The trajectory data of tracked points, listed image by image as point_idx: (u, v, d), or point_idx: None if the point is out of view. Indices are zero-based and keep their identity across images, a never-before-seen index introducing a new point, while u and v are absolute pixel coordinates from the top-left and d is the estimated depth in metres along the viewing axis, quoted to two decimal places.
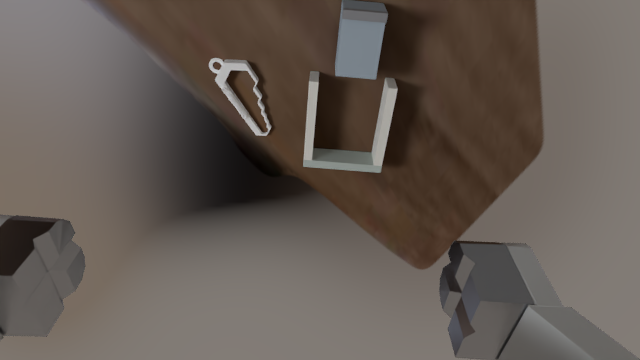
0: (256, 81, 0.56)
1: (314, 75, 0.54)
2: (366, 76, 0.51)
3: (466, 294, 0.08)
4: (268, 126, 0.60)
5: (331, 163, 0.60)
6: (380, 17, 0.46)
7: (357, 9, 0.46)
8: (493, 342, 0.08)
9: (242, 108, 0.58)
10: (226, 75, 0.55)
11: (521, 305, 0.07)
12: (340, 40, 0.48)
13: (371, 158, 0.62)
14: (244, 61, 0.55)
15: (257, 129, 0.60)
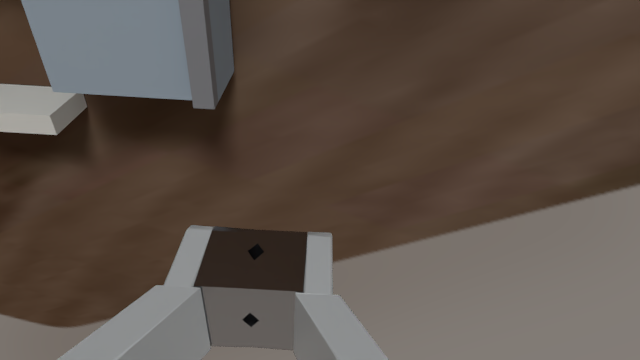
0: None
1: None
2: (50, 68, 0.19)
3: None
4: None
5: None
6: (203, 93, 0.19)
7: (210, 32, 0.18)
8: (282, 331, 0.08)
9: None
10: None
11: (292, 293, 0.07)
12: None
13: None
14: None
15: None
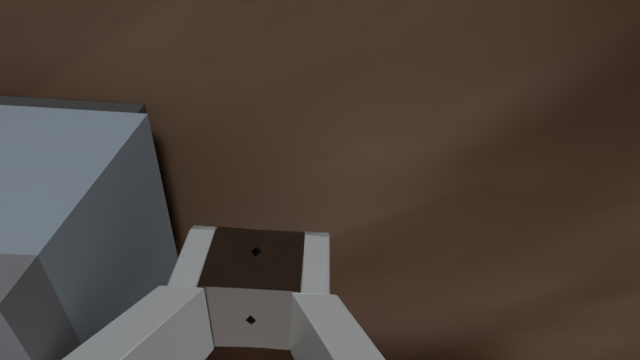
0: None
1: None
2: None
3: None
4: None
5: None
6: None
7: (69, 335, 0.06)
8: (279, 331, 0.08)
9: None
10: None
11: (289, 293, 0.07)
12: None
13: None
14: None
15: None
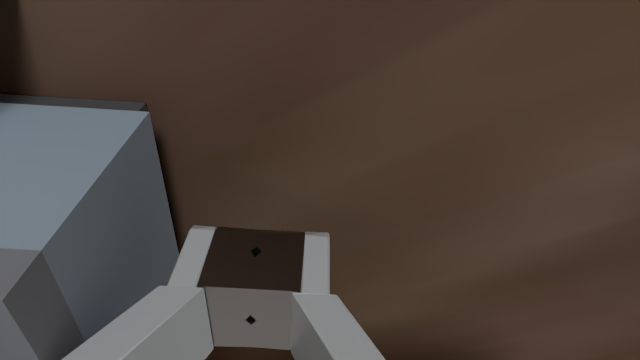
0: None
1: None
2: None
3: None
4: None
5: None
6: None
7: (72, 329, 0.06)
8: (279, 331, 0.08)
9: None
10: None
11: (289, 293, 0.07)
12: None
13: None
14: None
15: None
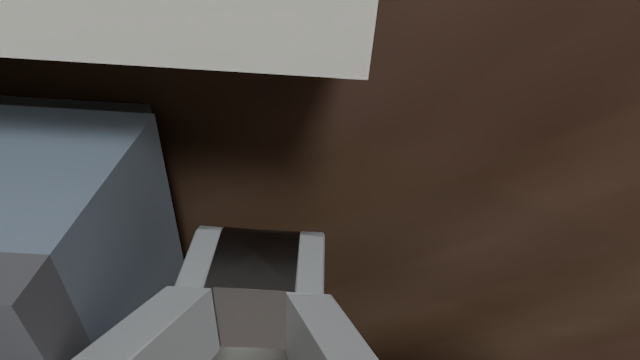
0: None
1: None
2: None
3: None
4: None
5: None
6: None
7: (80, 334, 0.06)
8: (274, 331, 0.08)
9: None
10: None
11: (283, 292, 0.07)
12: None
13: None
14: None
15: None
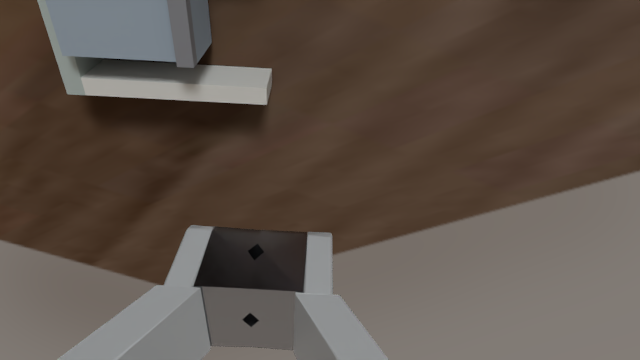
0: None
1: None
2: (60, 35, 0.24)
3: None
4: None
5: None
6: (184, 54, 0.24)
7: (189, 4, 0.23)
8: (282, 331, 0.08)
9: None
10: None
11: (292, 293, 0.07)
12: None
13: (92, 65, 0.28)
14: None
15: None
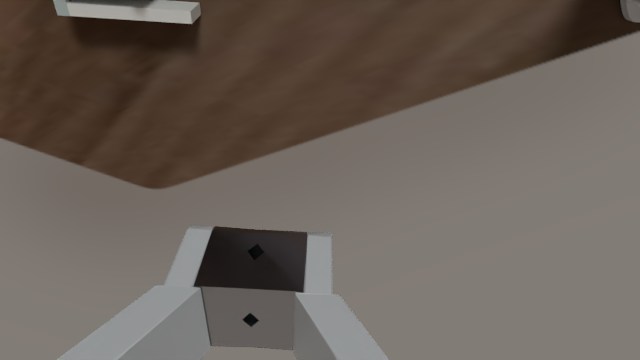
0: None
1: None
2: None
3: None
4: None
5: None
6: None
7: None
8: (282, 331, 0.08)
9: None
10: None
11: (292, 293, 0.07)
12: None
13: None
14: None
15: None
